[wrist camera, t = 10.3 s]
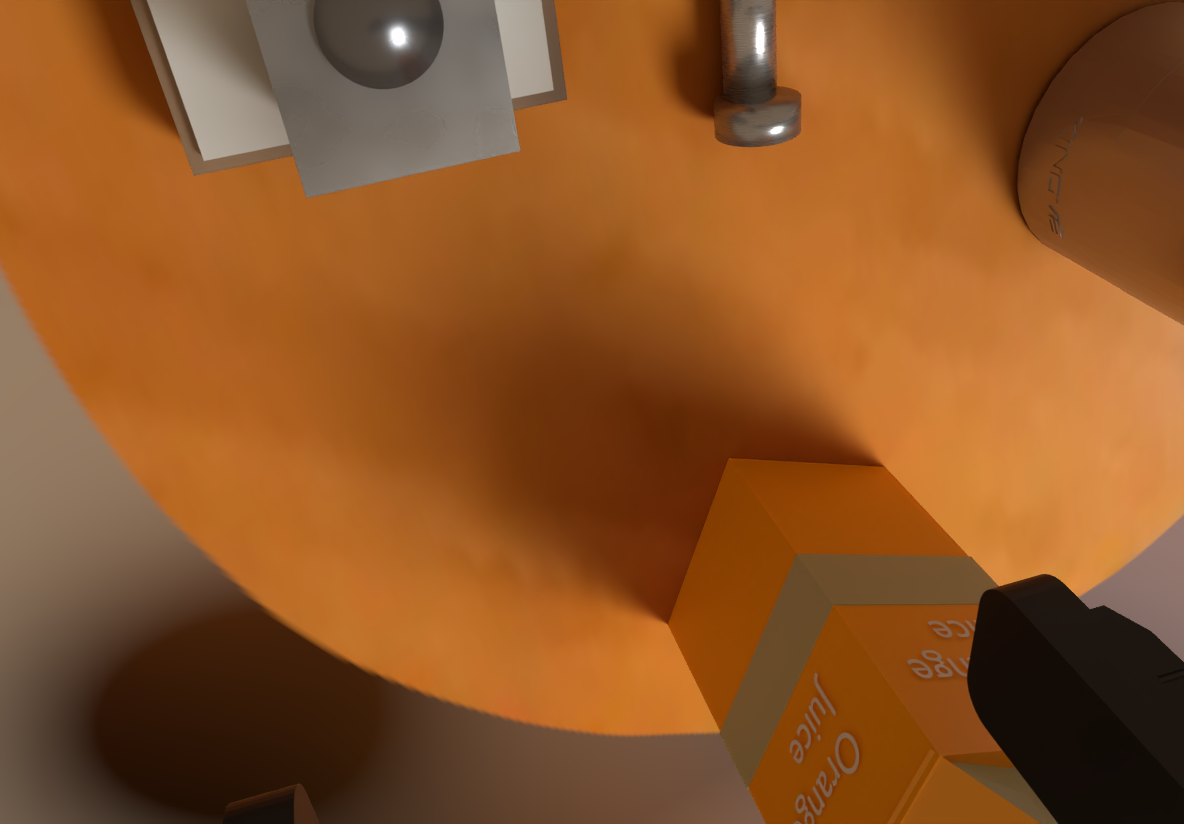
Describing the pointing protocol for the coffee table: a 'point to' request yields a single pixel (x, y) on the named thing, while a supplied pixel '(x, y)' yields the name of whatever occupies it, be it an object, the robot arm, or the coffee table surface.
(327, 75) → the block
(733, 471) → the orange juice
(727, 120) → the steel bolt
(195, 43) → the stand
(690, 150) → the coffee table surface
